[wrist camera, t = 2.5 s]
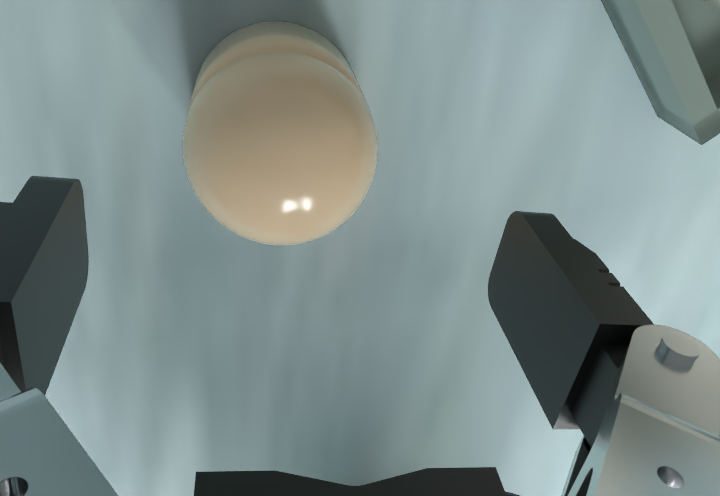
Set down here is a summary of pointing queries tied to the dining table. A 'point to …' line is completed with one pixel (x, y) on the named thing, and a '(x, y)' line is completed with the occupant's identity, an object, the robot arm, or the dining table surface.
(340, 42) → the dining table surface
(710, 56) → the egg carton
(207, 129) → the brown egg
